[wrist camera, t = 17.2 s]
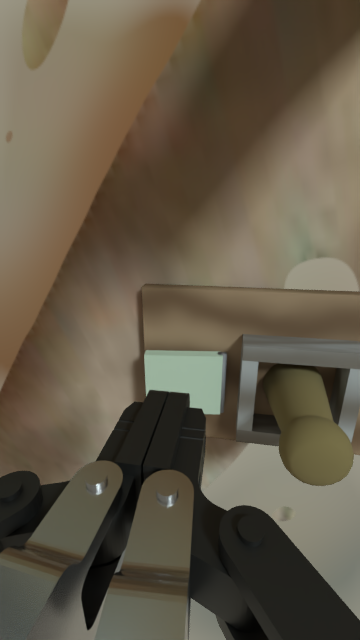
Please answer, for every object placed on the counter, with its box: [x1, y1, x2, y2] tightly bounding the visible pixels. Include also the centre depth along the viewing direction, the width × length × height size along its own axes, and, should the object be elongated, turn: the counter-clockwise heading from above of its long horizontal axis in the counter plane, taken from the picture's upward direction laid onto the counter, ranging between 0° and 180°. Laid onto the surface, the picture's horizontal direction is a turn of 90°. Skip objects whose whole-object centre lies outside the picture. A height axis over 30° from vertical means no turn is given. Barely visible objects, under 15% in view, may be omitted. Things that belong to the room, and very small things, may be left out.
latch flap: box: [144, 350, 227, 415], centre depth 32 cm, size 7×8×1 cm
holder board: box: [142, 284, 360, 455], centre depth 31 cm, size 18×25×4 cm
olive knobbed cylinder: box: [263, 363, 354, 486], centre depth 26 cm, size 6×6×11 cm
